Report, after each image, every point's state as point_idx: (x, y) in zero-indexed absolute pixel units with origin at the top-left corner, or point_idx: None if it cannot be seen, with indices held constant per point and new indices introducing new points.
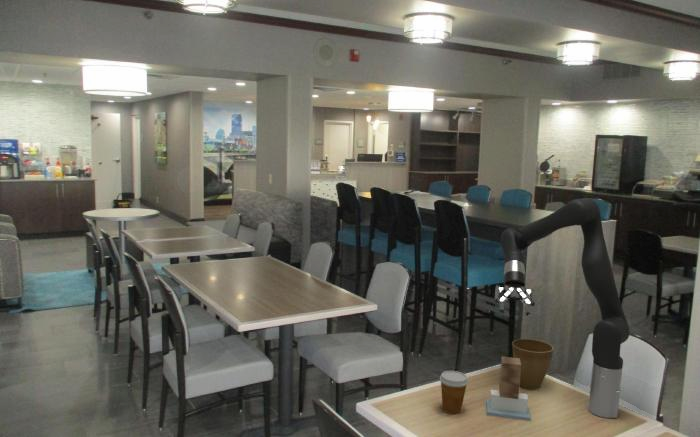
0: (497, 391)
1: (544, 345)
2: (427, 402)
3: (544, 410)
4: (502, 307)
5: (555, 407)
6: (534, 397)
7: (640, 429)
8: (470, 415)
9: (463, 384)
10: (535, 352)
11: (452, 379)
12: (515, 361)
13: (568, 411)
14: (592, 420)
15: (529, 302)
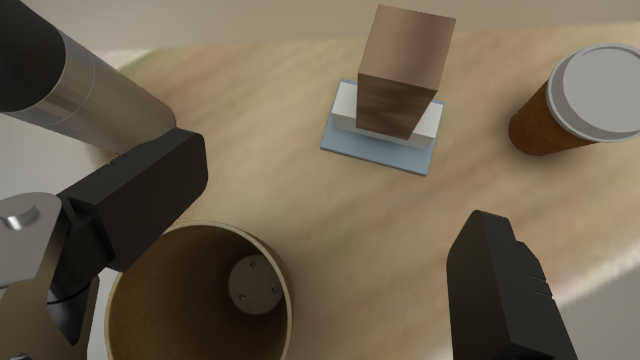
0: (416, 126)
1: (126, 356)
2: (603, 169)
3: (283, 133)
4: (508, 245)
5: (248, 149)
6: (277, 204)
7: (115, 58)
8: (488, 101)
9: (572, 54)
10: (225, 224)
11: (621, 66)
12: (390, 37)
13: (226, 130)
14: (194, 90)
15: (10, 210)
